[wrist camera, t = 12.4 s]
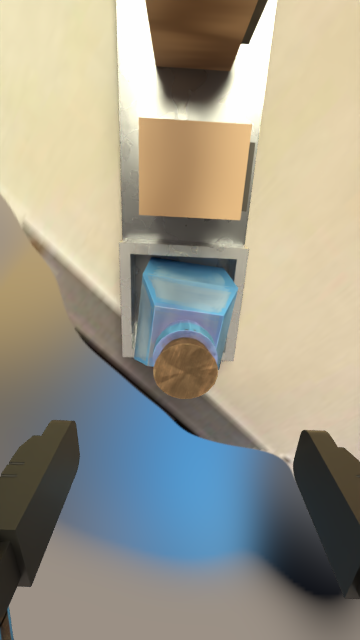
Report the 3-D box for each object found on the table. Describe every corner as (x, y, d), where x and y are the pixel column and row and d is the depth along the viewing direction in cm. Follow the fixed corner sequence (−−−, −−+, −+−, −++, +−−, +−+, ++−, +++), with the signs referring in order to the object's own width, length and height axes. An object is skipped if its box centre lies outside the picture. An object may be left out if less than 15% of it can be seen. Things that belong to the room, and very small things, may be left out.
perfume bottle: (209, 333, 26) (233, 428, 15) (143, 324, 26) (117, 415, 15) (223, 268, 24) (263, 323, 13) (151, 257, 23) (127, 304, 12)
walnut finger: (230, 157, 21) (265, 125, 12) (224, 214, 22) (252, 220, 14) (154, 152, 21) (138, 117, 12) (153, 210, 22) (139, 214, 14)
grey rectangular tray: (277, -45, 18) (303, -111, 14) (228, 340, 28) (235, 361, 24) (119, -58, 18) (103, -128, 14) (127, 336, 28) (120, 356, 24)
